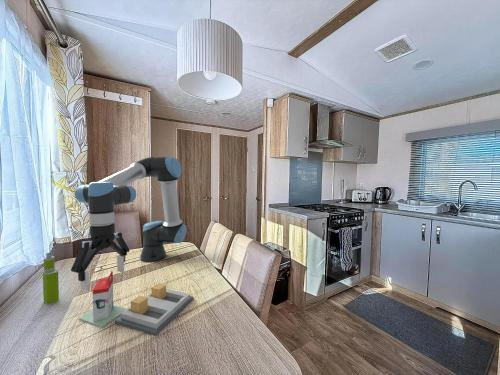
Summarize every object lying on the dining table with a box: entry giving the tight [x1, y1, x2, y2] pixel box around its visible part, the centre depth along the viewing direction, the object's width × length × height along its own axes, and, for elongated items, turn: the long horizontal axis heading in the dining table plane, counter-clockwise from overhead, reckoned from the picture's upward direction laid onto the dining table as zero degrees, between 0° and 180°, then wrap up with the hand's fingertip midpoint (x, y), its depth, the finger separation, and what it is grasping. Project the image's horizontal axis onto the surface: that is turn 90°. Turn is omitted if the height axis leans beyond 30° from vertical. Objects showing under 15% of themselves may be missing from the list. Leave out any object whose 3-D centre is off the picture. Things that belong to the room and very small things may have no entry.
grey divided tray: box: [114, 288, 195, 337], centre depth 82 cm, size 22×18×3 cm
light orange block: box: [130, 295, 148, 315], centre depth 78 cm, size 4×4×5 cm
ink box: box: [92, 270, 114, 322], centre depth 78 cm, size 8×5×15 cm, turn 24°
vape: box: [42, 252, 60, 306], centre depth 86 cm, size 4×6×20 cm, turn 62°
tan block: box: [151, 283, 167, 299], centre depth 87 cm, size 4×4×5 cm
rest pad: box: [78, 304, 127, 328], centre depth 79 cm, size 10×12×1 cm
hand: (104, 279), depth 78 cm, fingers open, 13 cm apart
